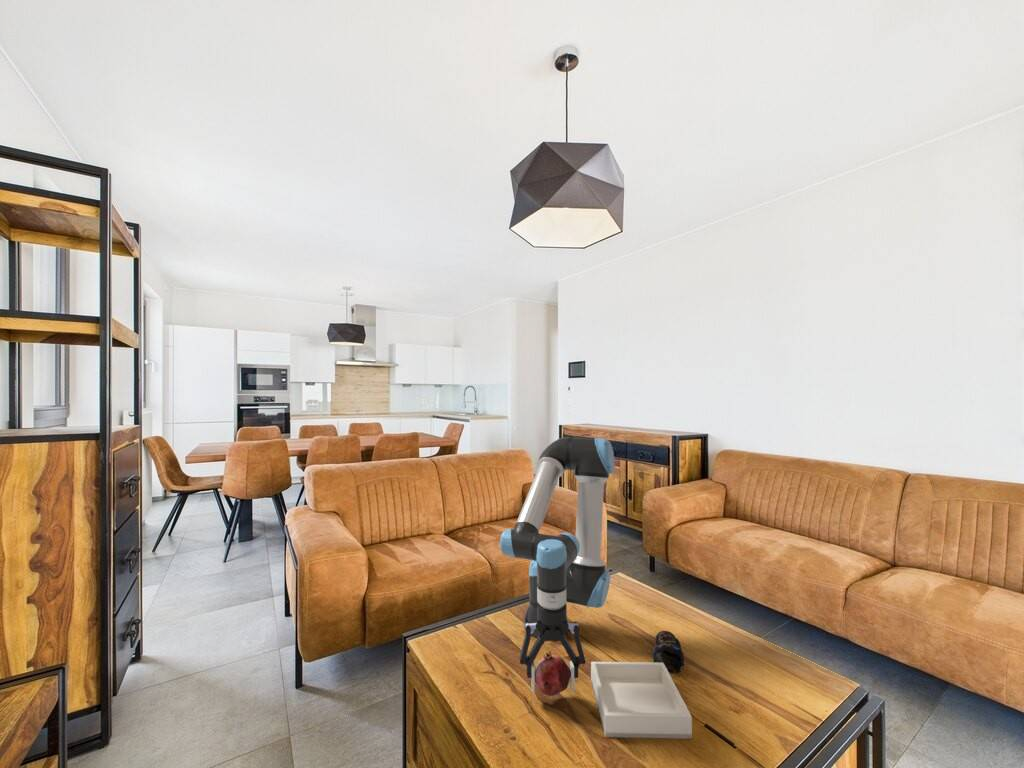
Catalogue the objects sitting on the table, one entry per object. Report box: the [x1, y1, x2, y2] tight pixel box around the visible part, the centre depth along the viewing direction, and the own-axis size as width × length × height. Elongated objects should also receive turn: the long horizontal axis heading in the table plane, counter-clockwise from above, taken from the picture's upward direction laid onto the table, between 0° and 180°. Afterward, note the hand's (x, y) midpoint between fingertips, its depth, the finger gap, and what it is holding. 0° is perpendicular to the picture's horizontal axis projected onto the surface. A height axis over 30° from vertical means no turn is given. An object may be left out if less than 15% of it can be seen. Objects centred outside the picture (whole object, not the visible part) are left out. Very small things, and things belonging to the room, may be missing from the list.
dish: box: [590, 661, 693, 740], centre depth 111 cm, size 20×20×5 cm
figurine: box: [652, 630, 685, 673], centre depth 130 cm, size 9×8×15 cm
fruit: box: [534, 650, 571, 697], centre depth 113 cm, size 9×10×10 cm
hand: (552, 689), depth 113 cm, fingers closed on fruit, 9 cm apart
